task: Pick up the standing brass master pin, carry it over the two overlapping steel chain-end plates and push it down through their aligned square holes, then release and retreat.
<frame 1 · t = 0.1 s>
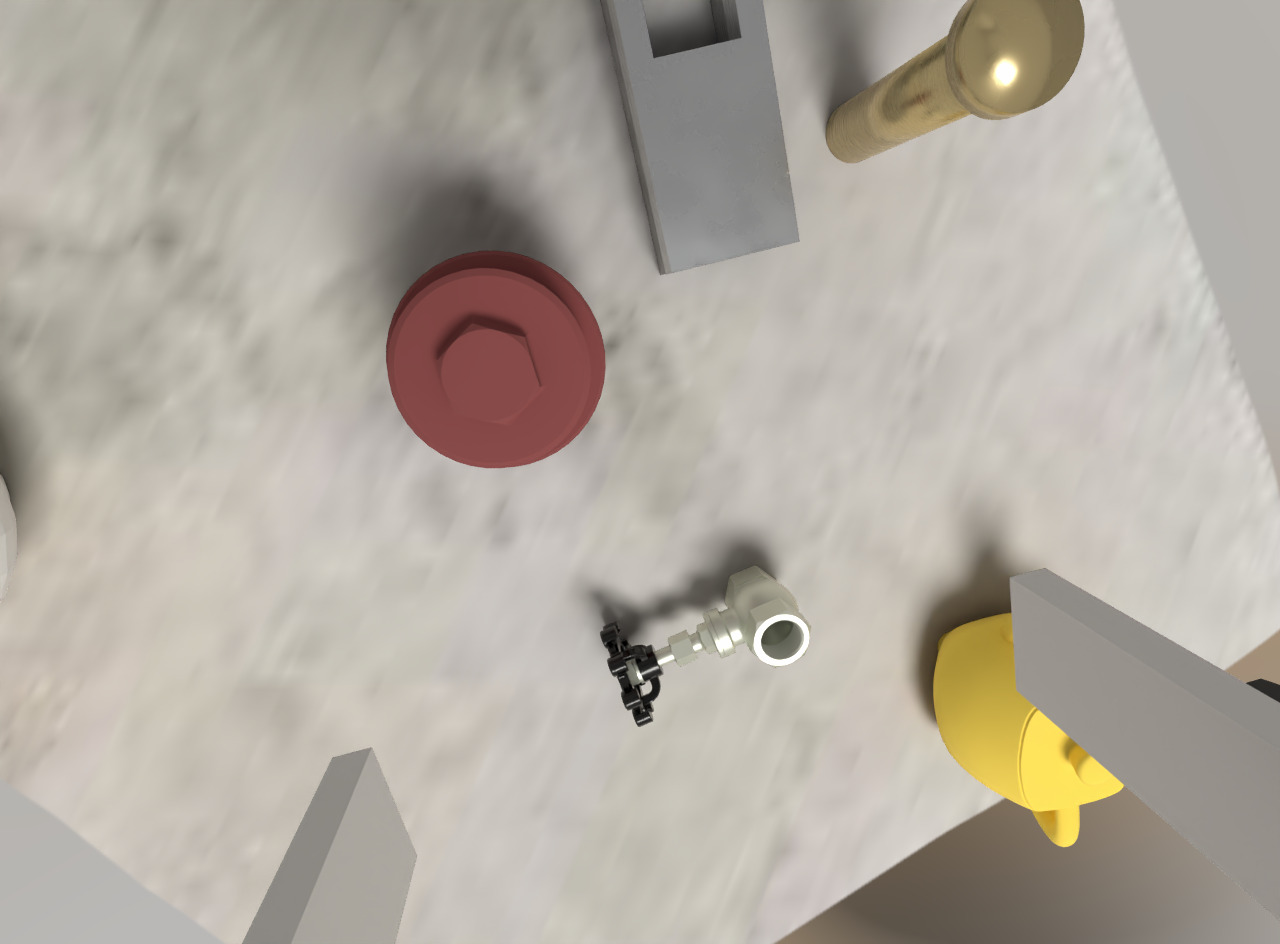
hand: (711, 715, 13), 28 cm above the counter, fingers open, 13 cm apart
master pin: (853, 132, 37), on the counter
chain joint: (673, 28, 34), on the counter
mechanical component: (510, 348, 38), on the counter
teapot: (983, 657, 48), on the counter
valve: (696, 611, 44), on the counter
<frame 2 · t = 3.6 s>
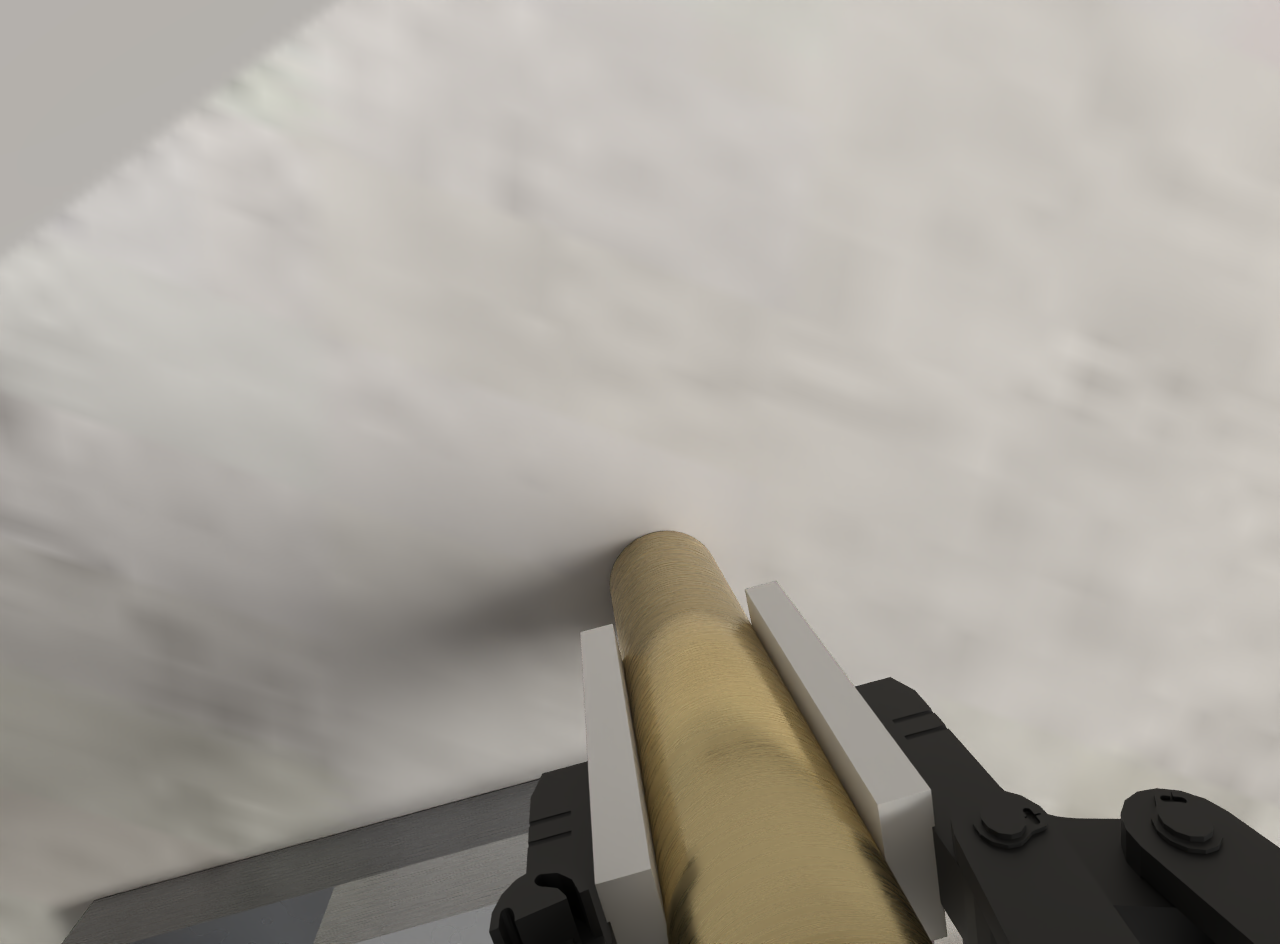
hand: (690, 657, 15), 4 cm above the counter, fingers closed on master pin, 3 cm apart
master pin: (664, 582, 19), on the counter, touching gripper
chain joint: (514, 878, 21), on the counter
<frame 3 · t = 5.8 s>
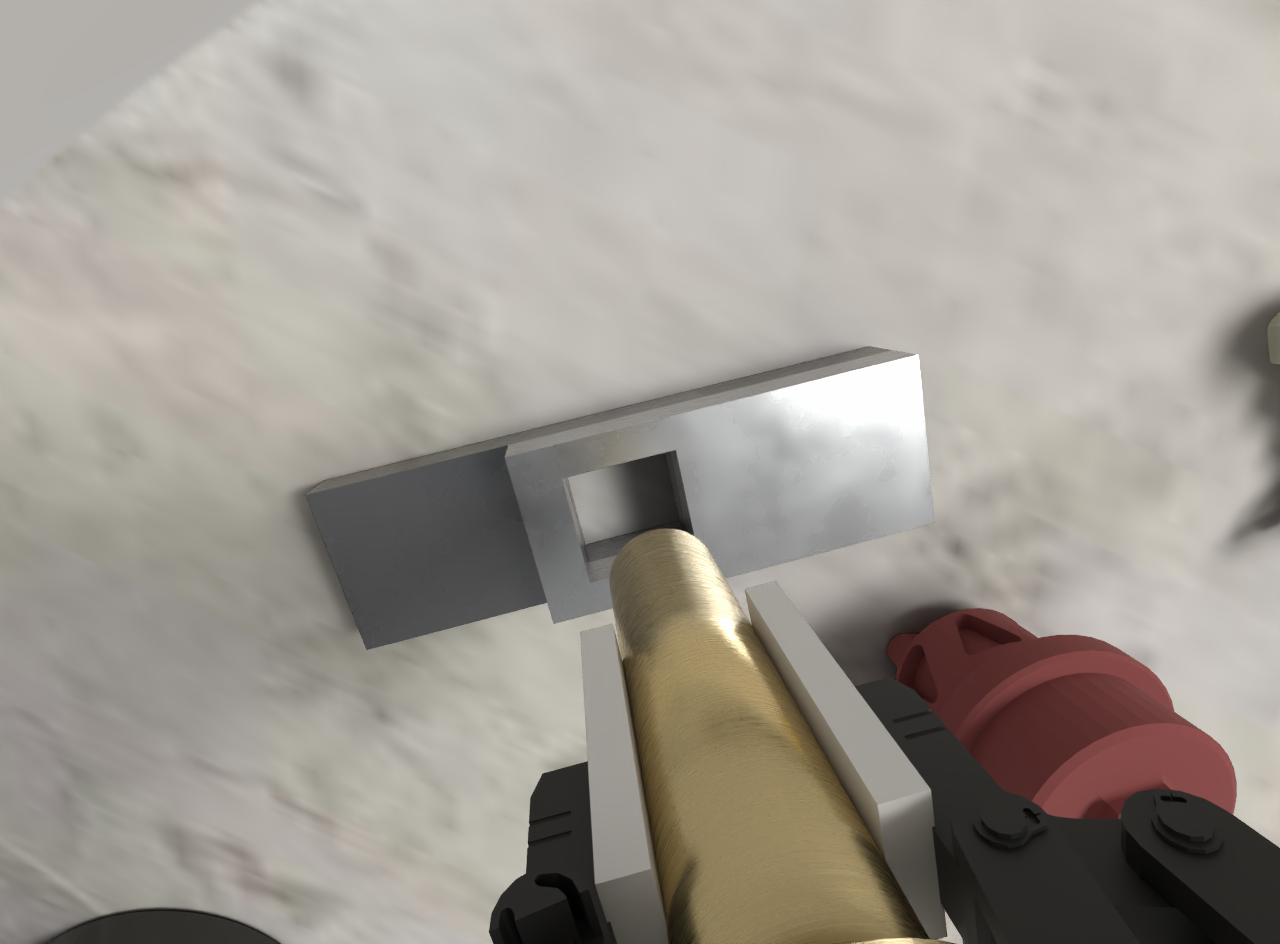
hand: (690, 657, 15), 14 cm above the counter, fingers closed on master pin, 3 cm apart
master pin: (663, 579, 19), point 10 cm above the counter, touching gripper
chain joint: (621, 487, 29), on the counter
mechanical component: (941, 653, 33), on the counter
when the fingers open (6 cm above the counter, at t = 8.0 s): master pin stays where it is, resting in chain joint.
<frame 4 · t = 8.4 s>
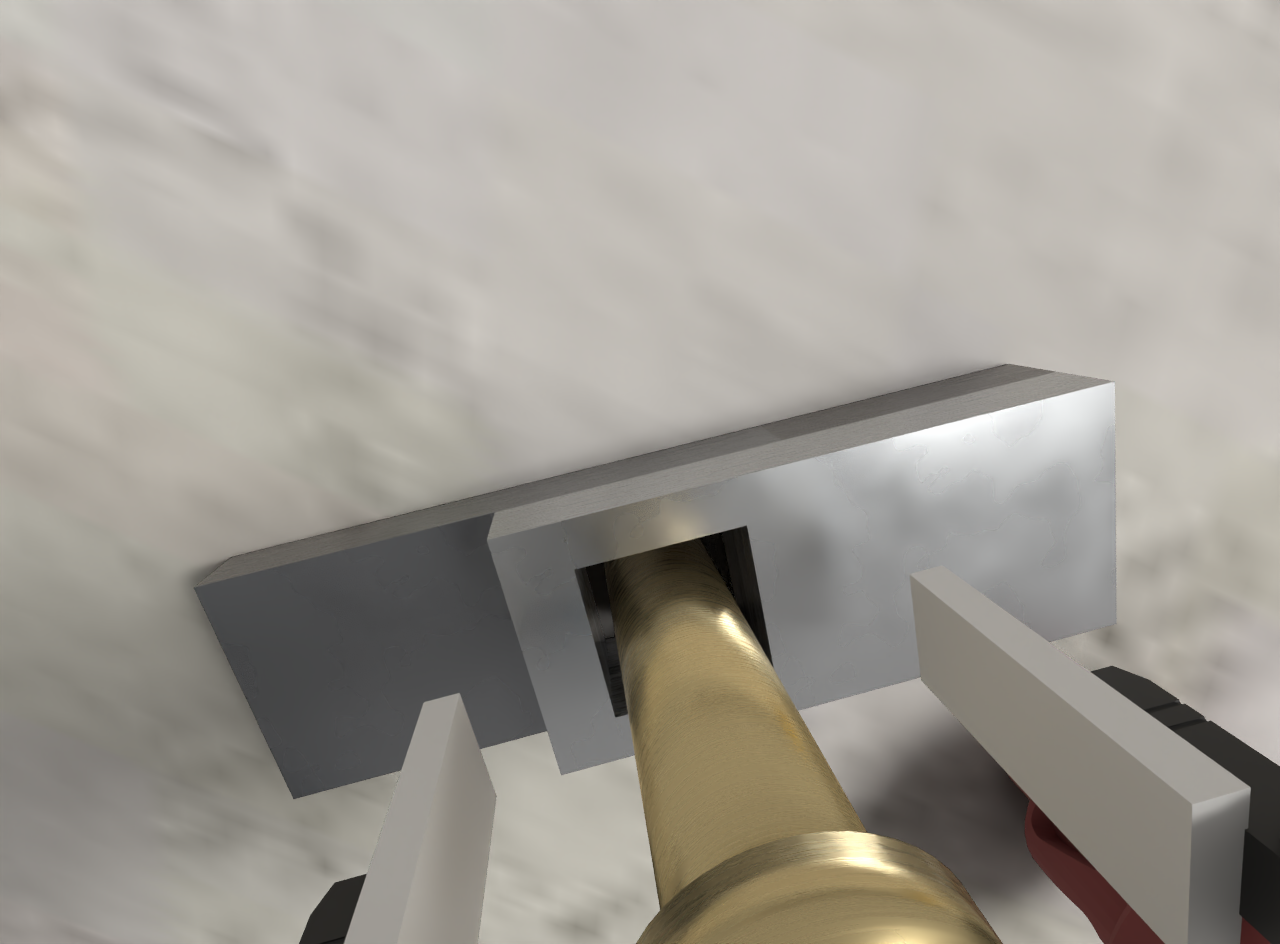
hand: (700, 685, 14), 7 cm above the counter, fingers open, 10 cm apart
master pin: (654, 562, 20), resting in chain joint
chain joint: (656, 561, 20), on the counter
mechanical component: (1076, 769, 25), on the counter
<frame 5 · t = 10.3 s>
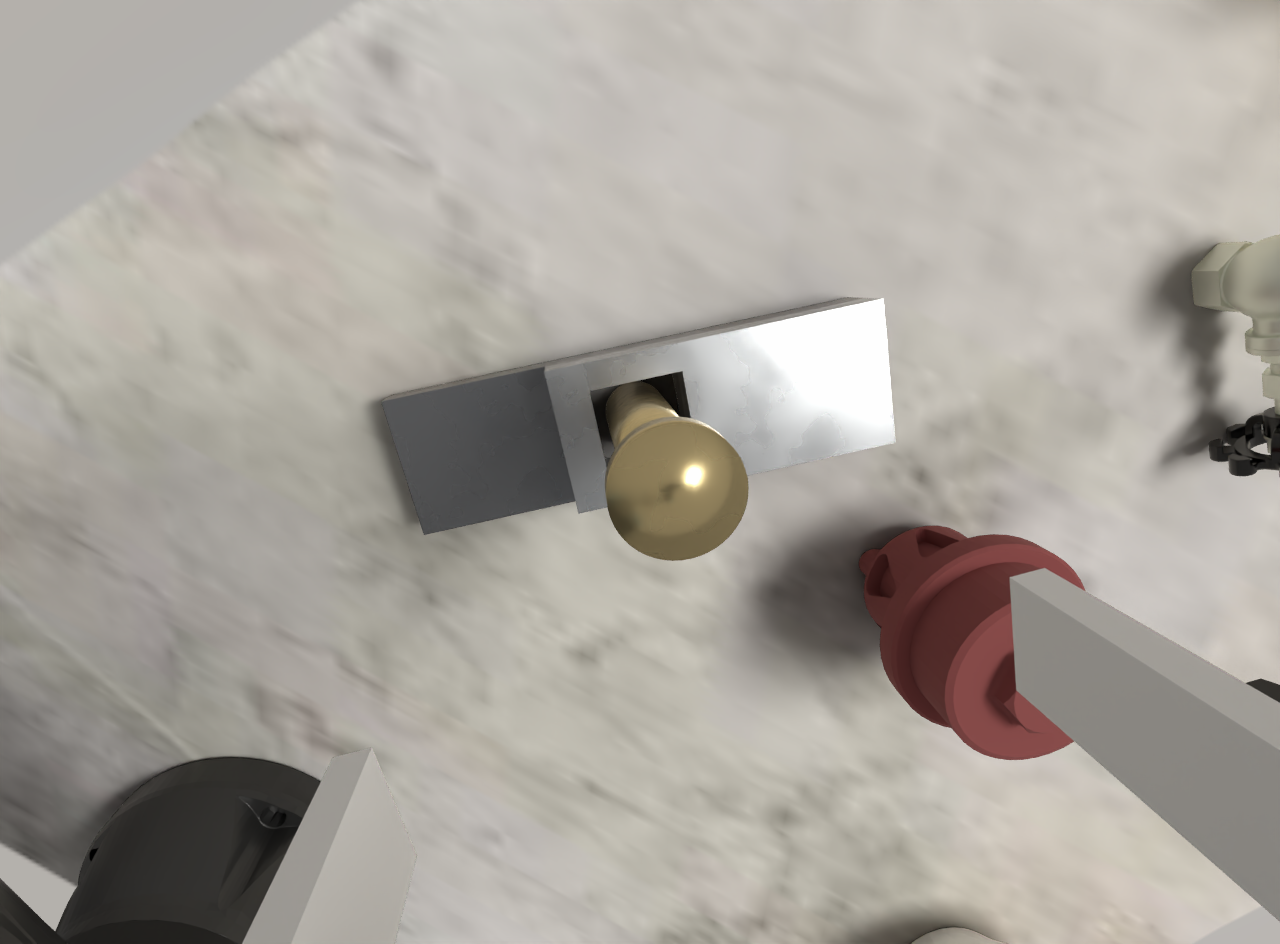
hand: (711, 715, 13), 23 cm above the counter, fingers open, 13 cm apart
master pin: (635, 411, 34), resting in chain joint
chain joint: (636, 410, 34), on the counter
mechanical component: (906, 569, 39), on the counter
valve: (1220, 344, 37), on the counter
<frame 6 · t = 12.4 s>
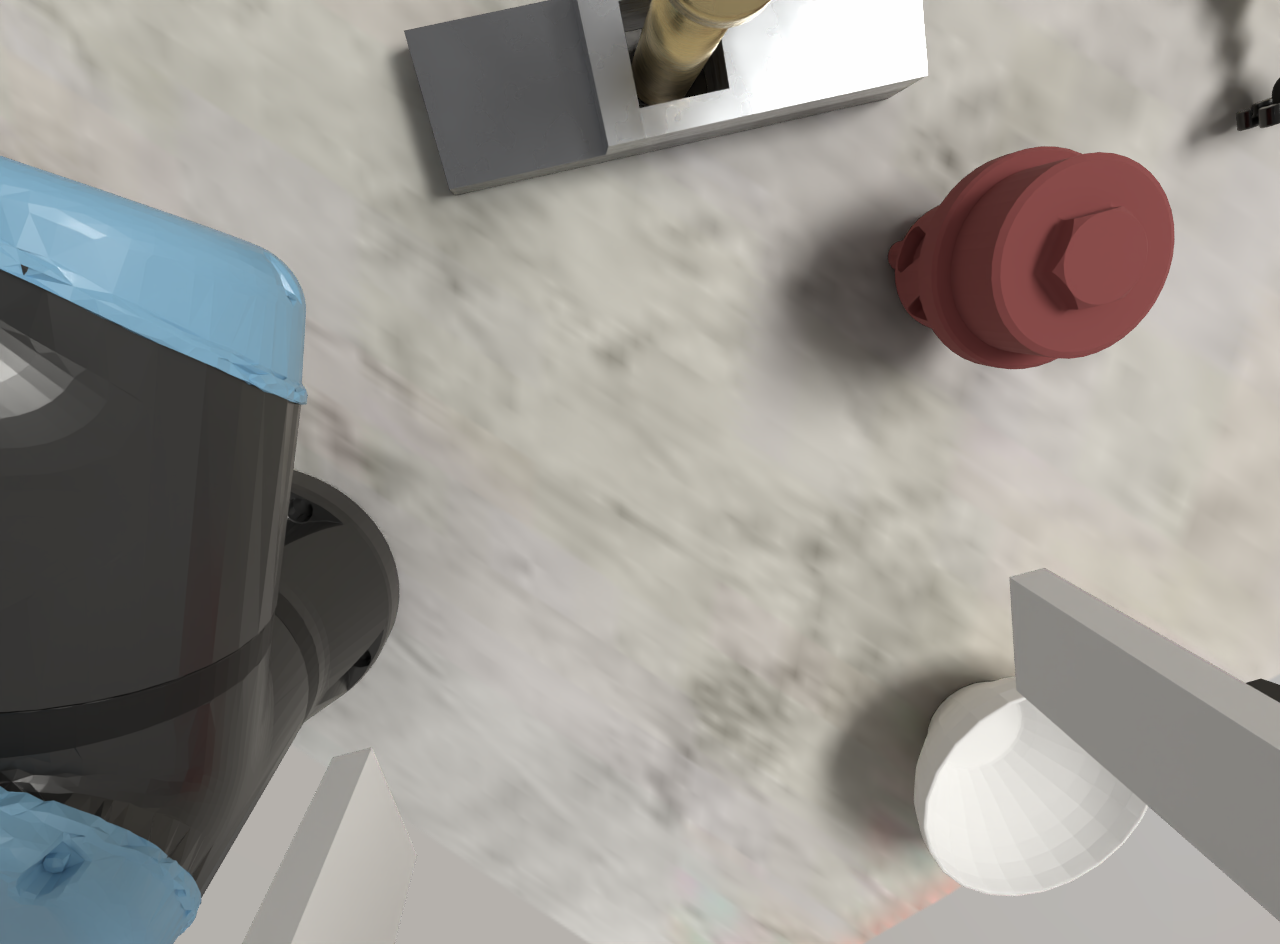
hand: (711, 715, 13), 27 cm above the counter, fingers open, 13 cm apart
master pin: (661, 74, 34), resting in chain joint
chain joint: (662, 73, 34), on the counter
mechanical component: (935, 268, 38), on the counter
valve: (1245, 10, 37), on the counter
bowl: (973, 724, 48), on the counter
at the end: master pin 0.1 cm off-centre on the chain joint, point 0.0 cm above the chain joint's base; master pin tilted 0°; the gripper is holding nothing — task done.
